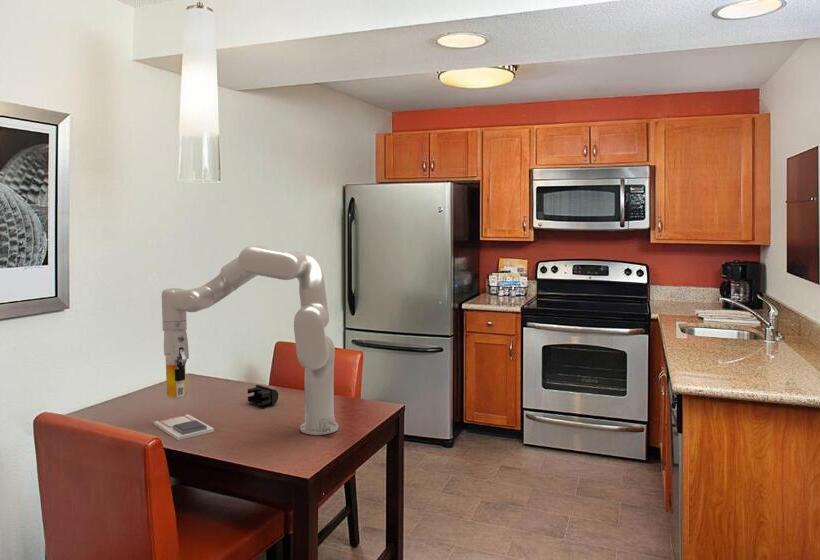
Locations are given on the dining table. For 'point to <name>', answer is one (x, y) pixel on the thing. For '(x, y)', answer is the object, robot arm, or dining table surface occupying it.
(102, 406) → the dining table surface
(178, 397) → the beer can
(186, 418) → the stamping board
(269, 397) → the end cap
